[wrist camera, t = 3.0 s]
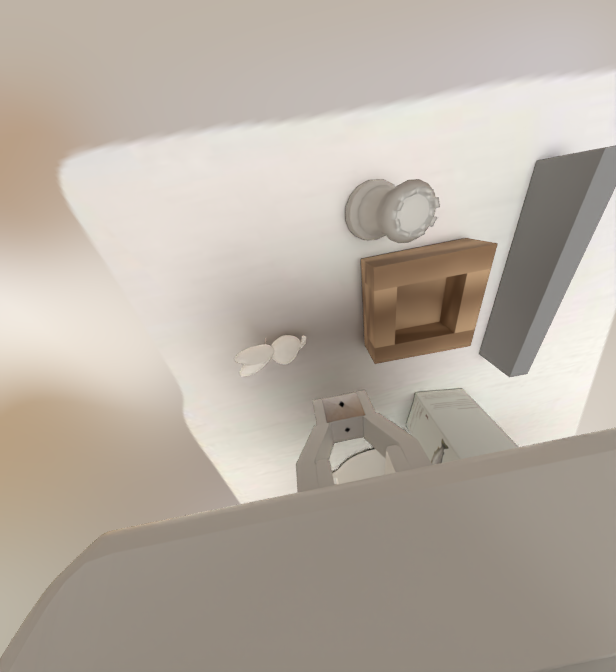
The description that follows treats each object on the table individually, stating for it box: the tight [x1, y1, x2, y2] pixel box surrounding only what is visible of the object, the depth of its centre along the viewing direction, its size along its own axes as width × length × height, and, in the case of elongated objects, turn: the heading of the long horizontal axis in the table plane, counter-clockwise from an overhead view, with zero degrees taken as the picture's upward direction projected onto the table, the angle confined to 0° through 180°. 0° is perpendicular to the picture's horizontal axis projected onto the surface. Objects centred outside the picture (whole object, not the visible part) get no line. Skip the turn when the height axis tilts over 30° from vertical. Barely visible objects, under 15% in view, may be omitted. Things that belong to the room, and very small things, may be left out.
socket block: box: [361, 238, 498, 364], centre depth 21 cm, size 10×10×4 cm
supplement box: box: [406, 389, 518, 465], centre depth 28 cm, size 7×7×13 cm
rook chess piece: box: [346, 179, 440, 243], centre depth 15 cm, size 4×4×8 cm
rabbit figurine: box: [234, 335, 306, 377], centre depth 23 cm, size 6×4×8 cm
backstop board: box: [479, 146, 616, 377], centre depth 21 cm, size 20×2×4 cm, turn 10°
